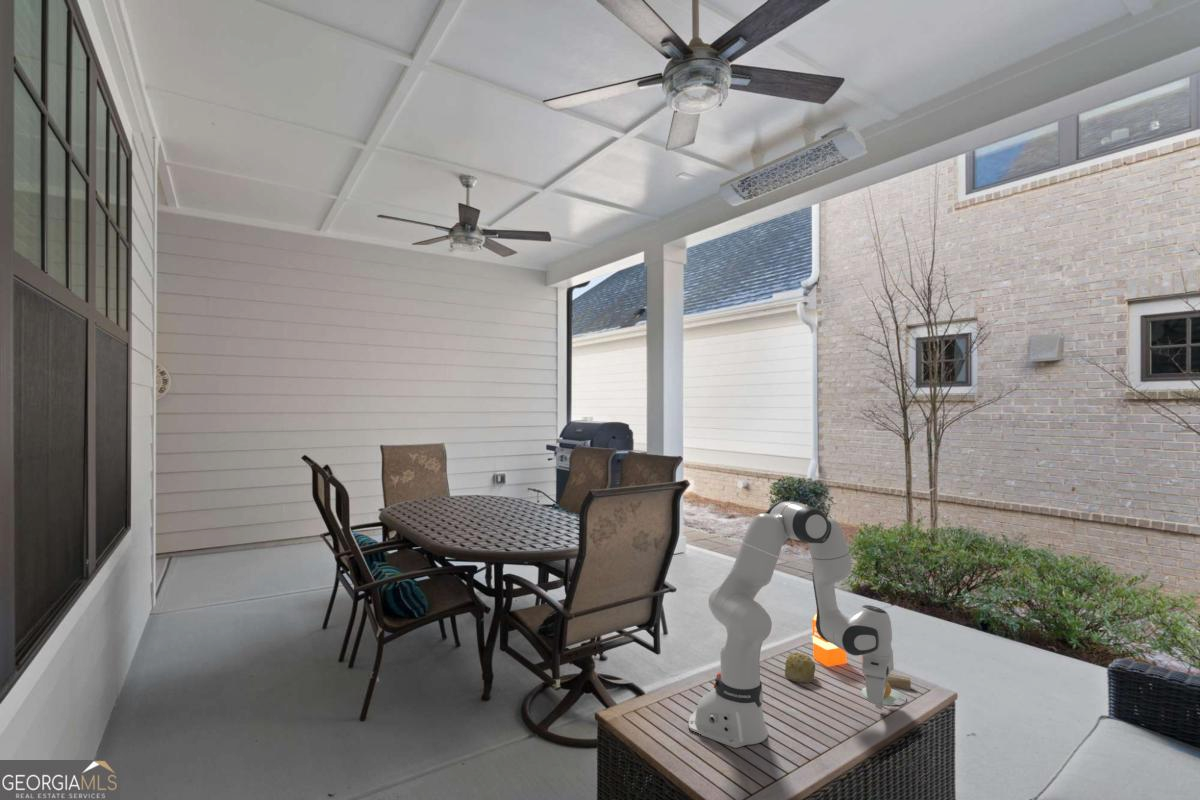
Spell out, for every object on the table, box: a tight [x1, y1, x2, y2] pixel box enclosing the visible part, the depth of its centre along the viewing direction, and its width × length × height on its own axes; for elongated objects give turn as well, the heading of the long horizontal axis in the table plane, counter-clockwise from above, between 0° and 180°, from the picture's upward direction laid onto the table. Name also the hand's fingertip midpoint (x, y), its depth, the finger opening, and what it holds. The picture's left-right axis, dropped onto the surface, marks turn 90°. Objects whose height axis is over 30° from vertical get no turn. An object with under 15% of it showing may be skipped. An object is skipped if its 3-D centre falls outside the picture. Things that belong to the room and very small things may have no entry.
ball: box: [884, 682, 892, 697], centre depth 174 cm, size 5×5×5 cm
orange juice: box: [811, 611, 848, 667], centre depth 201 cm, size 8×9×20 cm
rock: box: [784, 652, 816, 684], centre depth 188 cm, size 10×11×10 cm
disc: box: [861, 686, 907, 707], centre depth 174 cm, size 13×13×1 cm
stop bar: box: [863, 673, 912, 690], centre depth 182 cm, size 2×14×3 cm, turn 57°
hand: (879, 706), depth 164 cm, fingers closed
